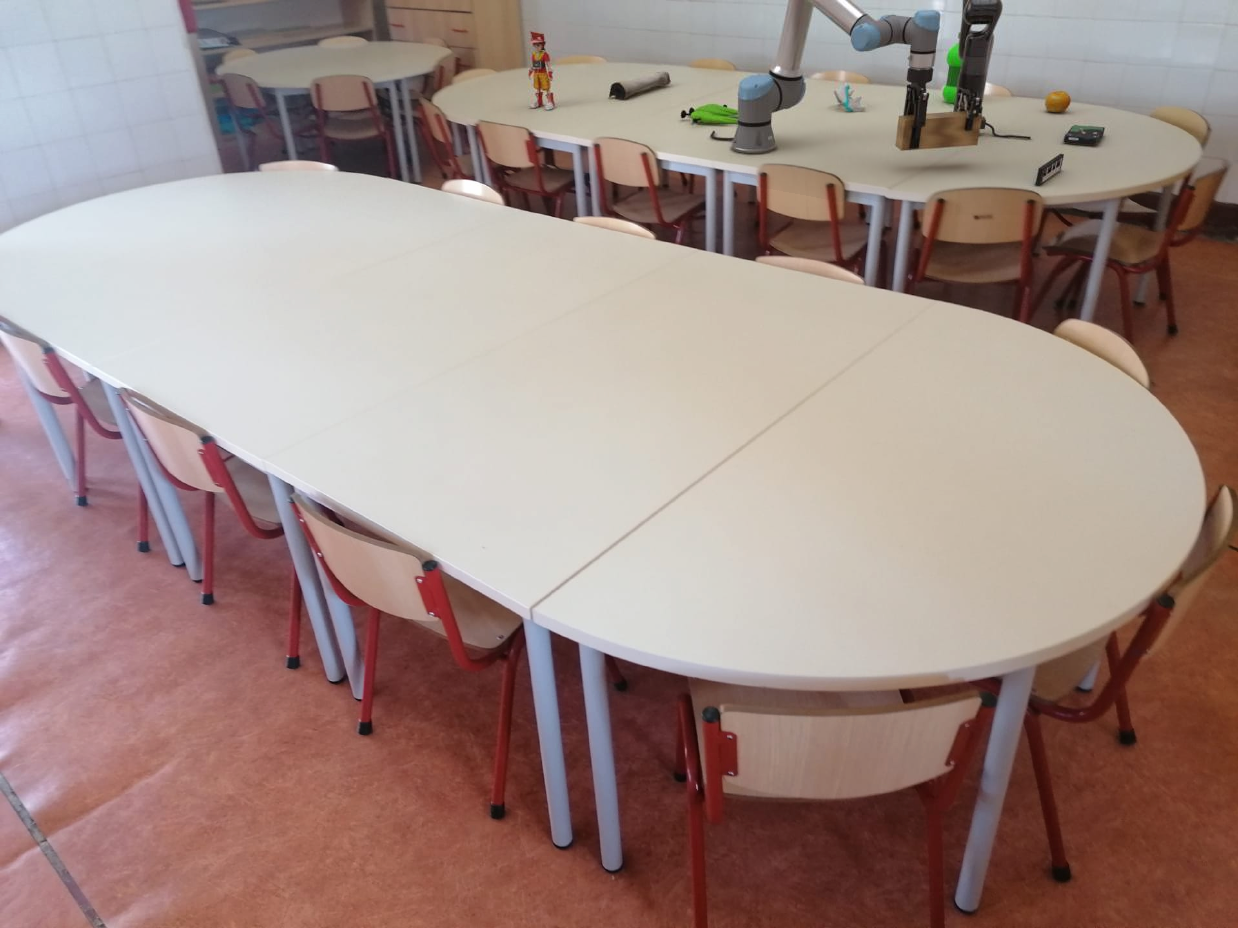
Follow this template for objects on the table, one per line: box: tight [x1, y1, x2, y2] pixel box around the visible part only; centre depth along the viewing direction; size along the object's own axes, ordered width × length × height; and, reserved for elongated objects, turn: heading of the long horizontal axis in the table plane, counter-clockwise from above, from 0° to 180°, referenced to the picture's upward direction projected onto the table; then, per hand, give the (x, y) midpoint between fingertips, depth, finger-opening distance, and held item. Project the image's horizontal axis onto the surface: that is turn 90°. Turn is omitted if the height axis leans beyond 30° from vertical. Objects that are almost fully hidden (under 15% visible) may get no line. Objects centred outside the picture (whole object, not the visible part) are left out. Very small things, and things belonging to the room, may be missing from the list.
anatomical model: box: [833, 81, 867, 113], centre depth 353 cm, size 15×10×10 cm
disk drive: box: [1063, 124, 1106, 146], centre depth 304 cm, size 10×3×15 cm
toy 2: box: [680, 103, 738, 124], centre depth 349 cm, size 28×5×30 cm
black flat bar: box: [1035, 153, 1065, 186], centre depth 273 cm, size 18×1×5 cm, turn 138°
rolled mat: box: [608, 71, 672, 101], centre depth 395 cm, size 30×9×10 cm
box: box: [895, 111, 983, 152], centre depth 283 cm, size 24×6×9 cm, turn 93°
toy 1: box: [527, 31, 556, 111], centre depth 374 cm, size 12×9×30 cm
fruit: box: [1044, 90, 1072, 113], centre depth 334 cm, size 8×8×8 cm
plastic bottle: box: [942, 31, 962, 104], centre depth 348 cm, size 10×10×25 cm
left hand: (910, 145), depth 285 cm, fingers closed on box, 6 cm apart
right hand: (964, 127), depth 283 cm, fingers closed on box, 6 cm apart
